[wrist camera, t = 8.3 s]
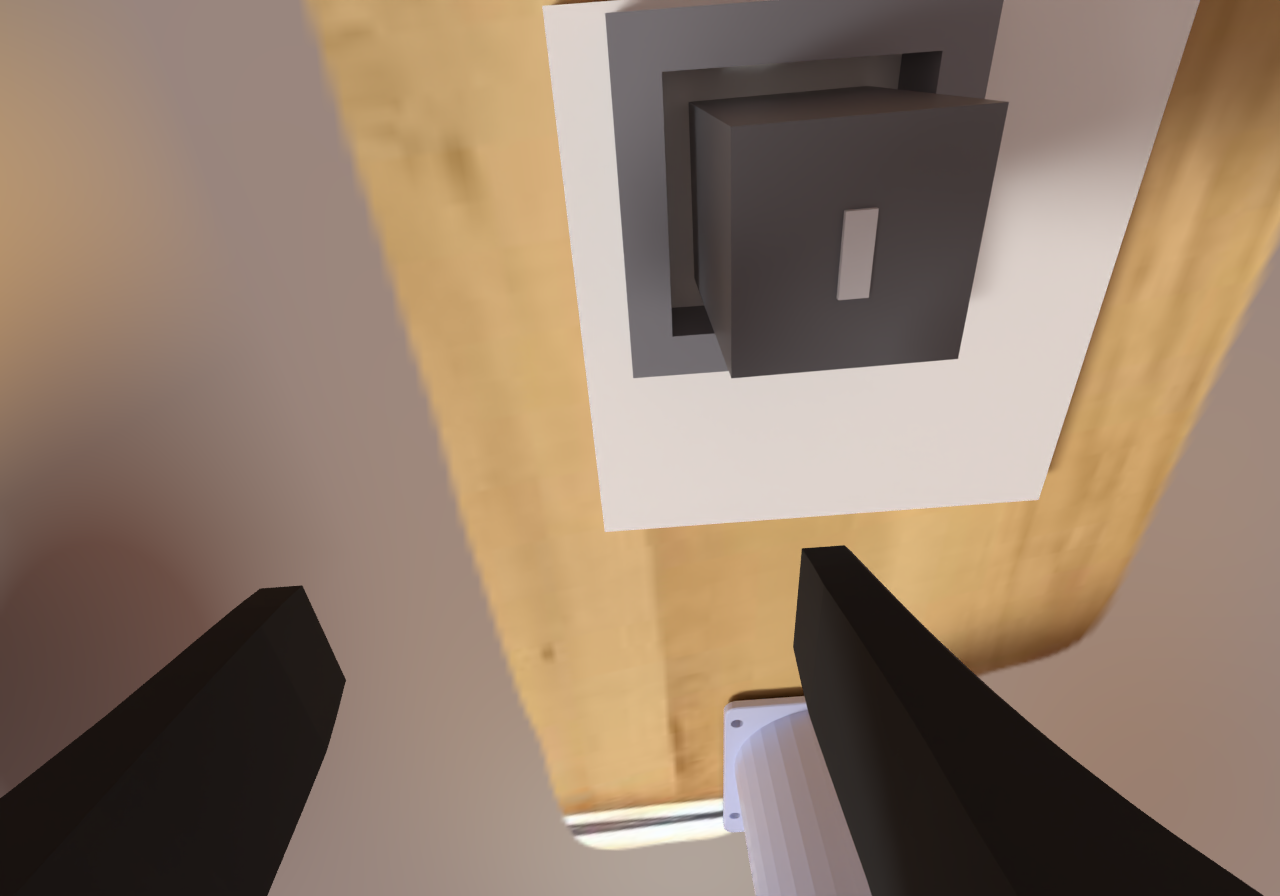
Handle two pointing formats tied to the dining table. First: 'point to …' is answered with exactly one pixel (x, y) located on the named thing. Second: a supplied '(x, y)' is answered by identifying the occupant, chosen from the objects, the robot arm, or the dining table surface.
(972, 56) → the outlet plate
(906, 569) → the dining table surface
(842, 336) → the block
